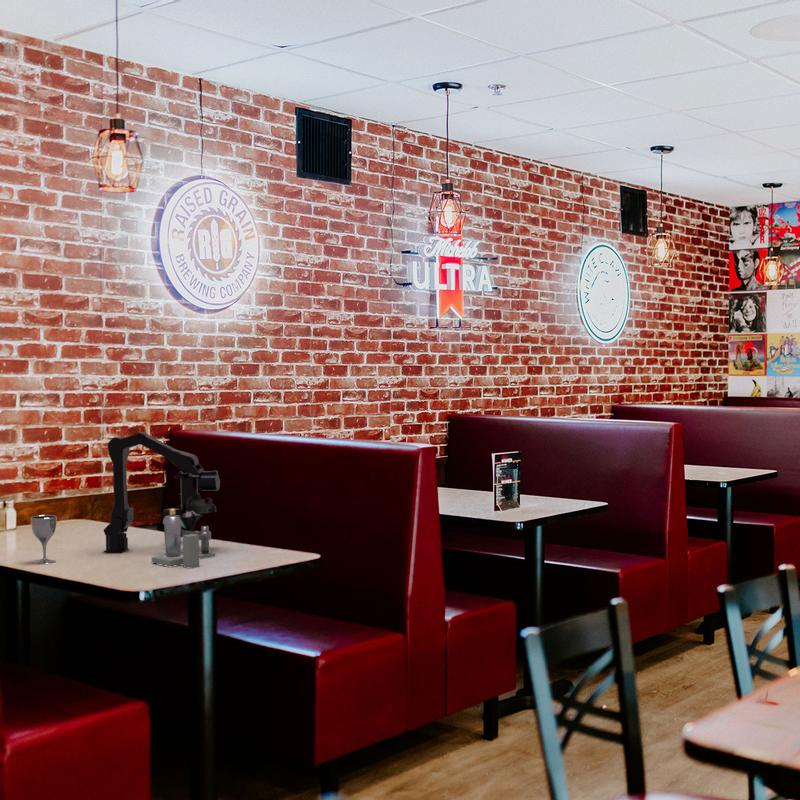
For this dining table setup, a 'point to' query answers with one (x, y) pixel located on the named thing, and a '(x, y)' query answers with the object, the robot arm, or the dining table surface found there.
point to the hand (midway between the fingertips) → (190, 535)
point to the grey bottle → (172, 535)
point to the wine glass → (44, 532)
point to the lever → (203, 536)
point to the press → (185, 553)
